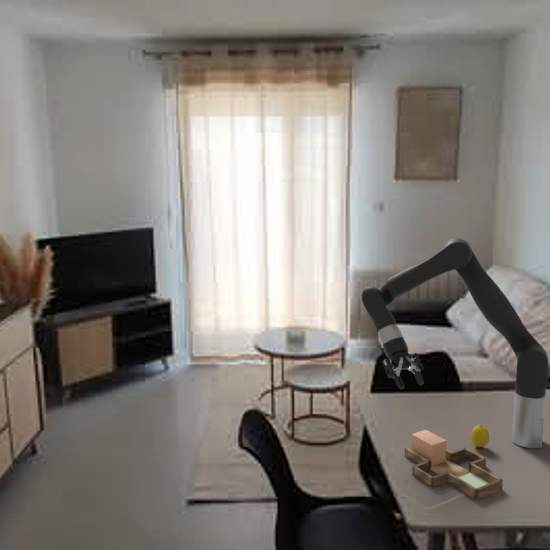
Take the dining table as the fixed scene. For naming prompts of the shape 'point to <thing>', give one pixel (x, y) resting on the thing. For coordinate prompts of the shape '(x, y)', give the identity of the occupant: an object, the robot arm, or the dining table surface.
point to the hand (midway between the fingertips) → (412, 386)
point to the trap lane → (456, 472)
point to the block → (429, 446)
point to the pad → (473, 480)
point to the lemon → (480, 436)
